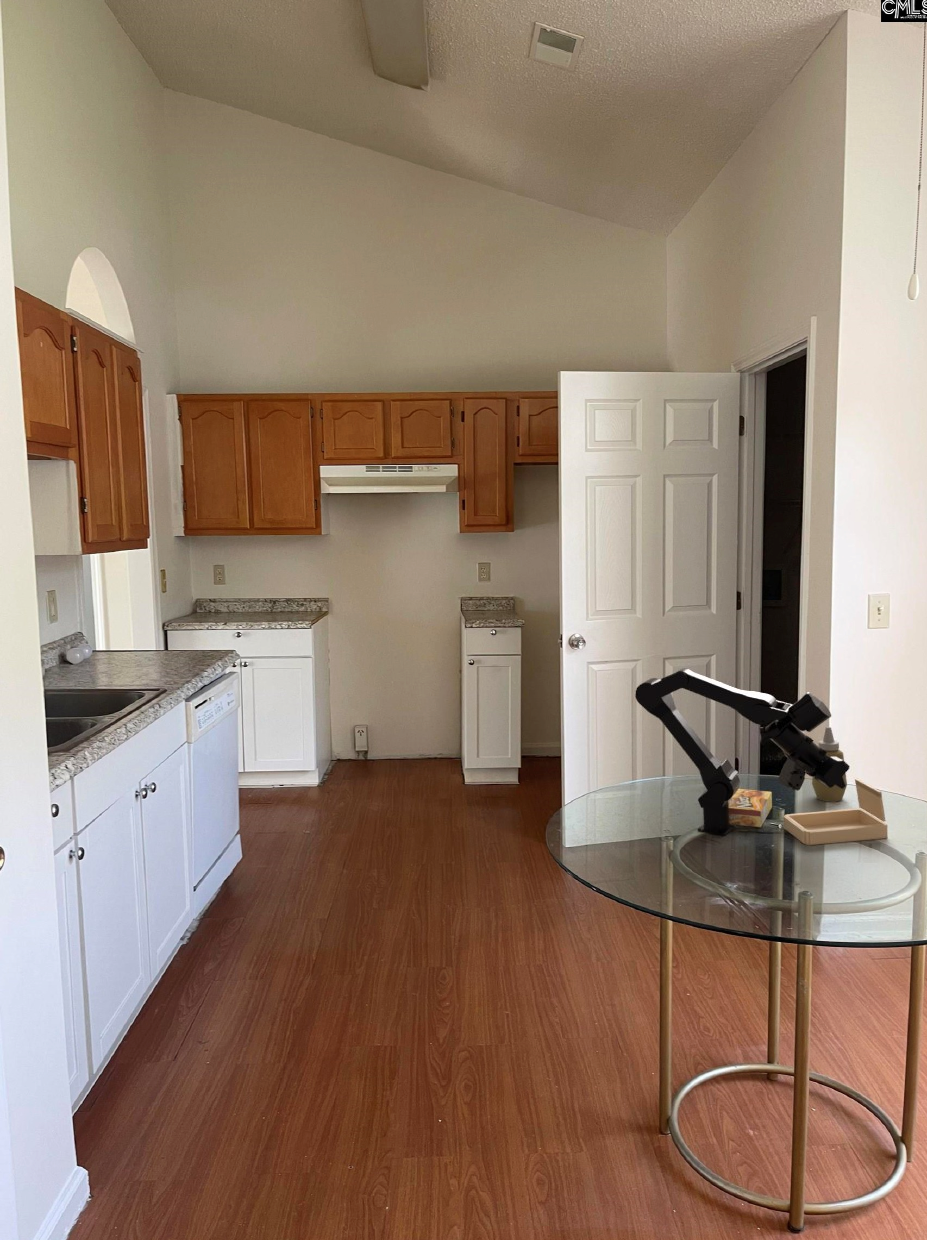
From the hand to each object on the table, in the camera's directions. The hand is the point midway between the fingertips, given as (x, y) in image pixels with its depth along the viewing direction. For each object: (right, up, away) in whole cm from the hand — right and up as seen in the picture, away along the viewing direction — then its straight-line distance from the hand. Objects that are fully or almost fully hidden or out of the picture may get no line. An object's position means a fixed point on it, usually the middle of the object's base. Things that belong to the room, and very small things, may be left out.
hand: (843, 787), depth 192 cm
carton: (-1, -11, +2) cm, 11 cm away
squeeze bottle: (+7, -8, +24) cm, 27 cm away
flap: (+7, -7, +2) cm, 10 cm away
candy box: (-12, -7, +23) cm, 27 cm away
